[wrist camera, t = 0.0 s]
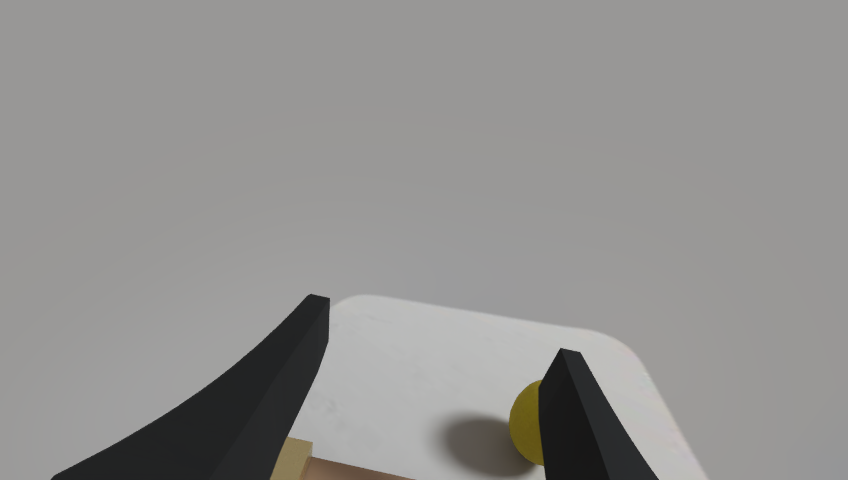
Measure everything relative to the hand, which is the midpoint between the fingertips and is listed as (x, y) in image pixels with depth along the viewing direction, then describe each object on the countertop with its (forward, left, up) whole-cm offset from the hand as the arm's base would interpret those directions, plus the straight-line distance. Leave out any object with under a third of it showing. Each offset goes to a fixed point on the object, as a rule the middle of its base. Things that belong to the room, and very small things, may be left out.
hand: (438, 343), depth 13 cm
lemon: (+12, -11, -22) cm, 27 cm away
